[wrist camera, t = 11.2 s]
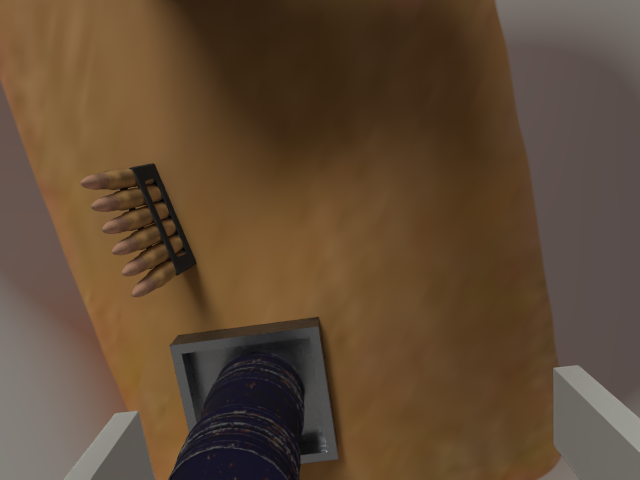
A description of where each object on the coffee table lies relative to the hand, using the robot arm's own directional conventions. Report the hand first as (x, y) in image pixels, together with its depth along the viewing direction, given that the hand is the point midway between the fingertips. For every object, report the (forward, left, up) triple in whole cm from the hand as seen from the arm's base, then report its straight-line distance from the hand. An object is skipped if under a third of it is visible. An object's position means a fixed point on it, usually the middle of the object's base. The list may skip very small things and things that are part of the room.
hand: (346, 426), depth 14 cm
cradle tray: (+15, -10, -30) cm, 35 cm away
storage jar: (+15, -10, -30) cm, 35 cm away
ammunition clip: (-5, -16, -30) cm, 35 cm away
